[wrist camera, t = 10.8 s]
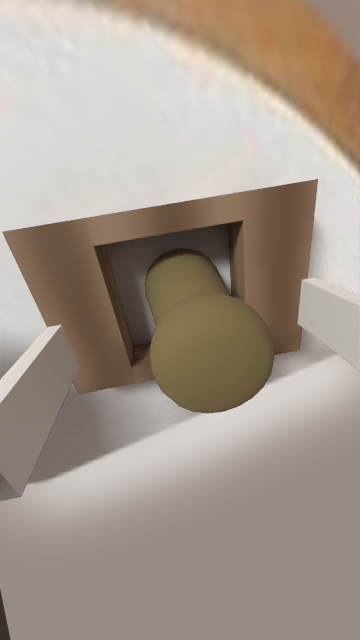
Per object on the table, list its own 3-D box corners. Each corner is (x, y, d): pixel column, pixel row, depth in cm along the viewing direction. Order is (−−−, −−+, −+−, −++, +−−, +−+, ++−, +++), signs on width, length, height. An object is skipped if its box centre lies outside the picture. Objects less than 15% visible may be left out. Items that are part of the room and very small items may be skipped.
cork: (223, 312, 19) (297, 417, 10) (154, 328, 19) (159, 450, 9) (215, 240, 17) (307, 284, 7) (135, 257, 17) (114, 327, 7)
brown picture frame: (88, 369, 20) (79, 394, 18) (28, 228, 15) (2, 232, 12) (280, 332, 21) (299, 349, 18) (289, 184, 16) (318, 179, 13)
